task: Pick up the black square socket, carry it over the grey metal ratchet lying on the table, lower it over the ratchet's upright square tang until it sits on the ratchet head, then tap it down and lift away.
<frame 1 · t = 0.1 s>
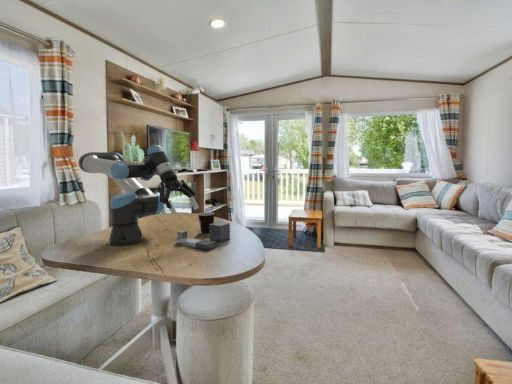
hand: (186, 211, 134), 15 cm above the table, tool tilted 35°, fingers open, 13 cm apart
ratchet: (182, 242, 137), on the table
socket: (220, 239, 141), on the table
coffee mug: (207, 231, 158), on the table
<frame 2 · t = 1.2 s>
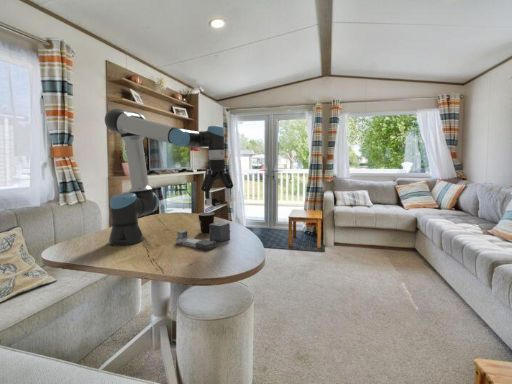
hand: (218, 203, 139), 18 cm above the table, tool pointing down, fingers open, 13 cm apart
nothing on the table moved.
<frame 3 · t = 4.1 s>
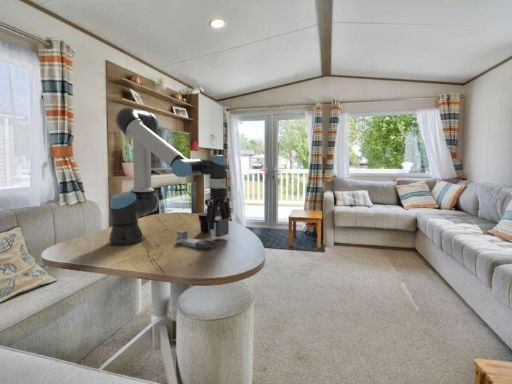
hand: (218, 233, 141), 3 cm above the table, tool pointing down, fingers closed on socket, 7 cm apart
socket: (218, 234, 141), point 3 cm above the table, touching gripper
everything else where it was.
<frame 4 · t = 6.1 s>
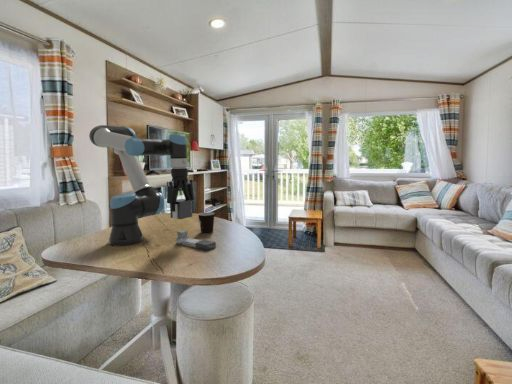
hand: (181, 216, 136), 13 cm above the table, tool pointing down, fingers closed on socket, 7 cm apart
socket: (181, 217, 136), point 12 cm above the table, touching gripper
everything else where it was.
when the fingers open (3 cm above the table, at t = 7.9 s): socket stays where it is, resting on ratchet.
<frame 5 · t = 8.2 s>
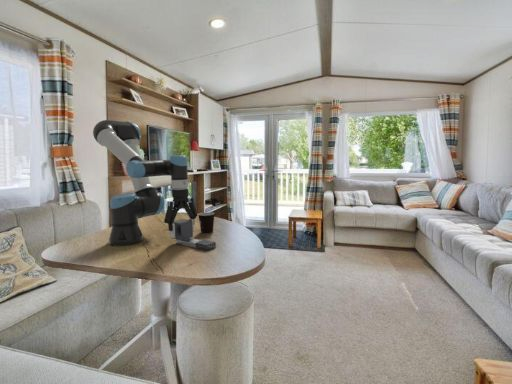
hand: (182, 234, 137), 4 cm above the table, tool pointing down, fingers open, 11 cm apart
socket: (182, 237, 137), point 2 cm above the table, touching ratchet
everything else where it was.
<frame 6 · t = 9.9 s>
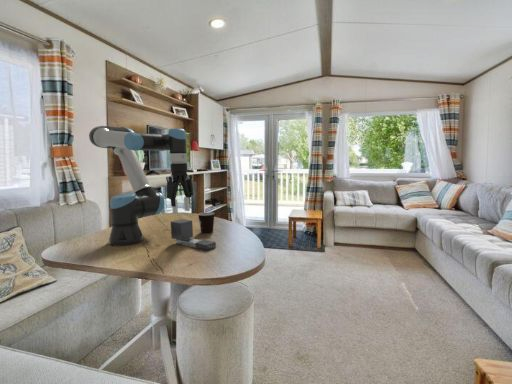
hand: (181, 211, 136), 15 cm above the table, tool pointing down, fingers open, 6 cm apart
nothing on the table moved.
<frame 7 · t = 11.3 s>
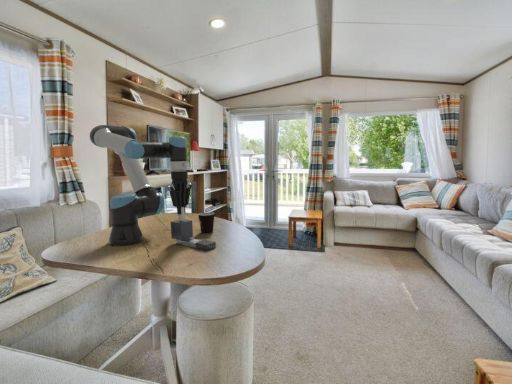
hand: (181, 220, 136), 11 cm above the table, tool pointing down, fingers closed
socket: (182, 237, 137), point 2 cm above the table, touching gripper, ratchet
everything else where it was.
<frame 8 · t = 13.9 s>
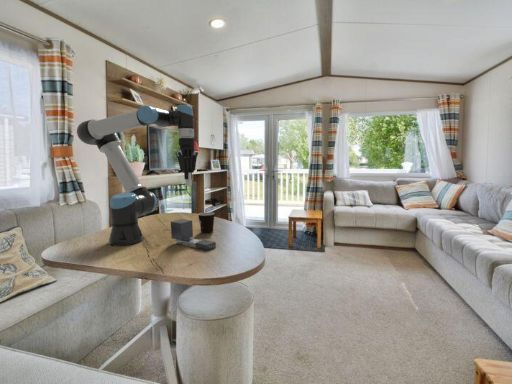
hand: (188, 185, 144), 26 cm above the table, tool pointing down, fingers closed
socket: (182, 237, 137), point 2 cm above the table, touching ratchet
everything else where it was.
at the end: socket point 2.5 cm above the table; socket 0.2 cm from the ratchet (horizontally); socket tilted 0° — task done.
